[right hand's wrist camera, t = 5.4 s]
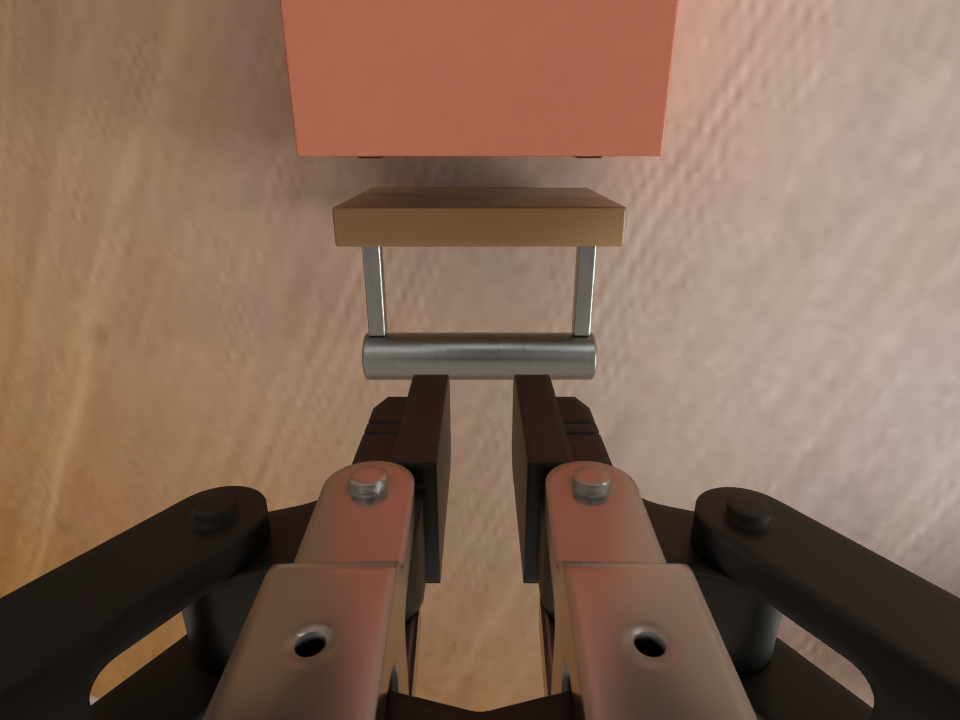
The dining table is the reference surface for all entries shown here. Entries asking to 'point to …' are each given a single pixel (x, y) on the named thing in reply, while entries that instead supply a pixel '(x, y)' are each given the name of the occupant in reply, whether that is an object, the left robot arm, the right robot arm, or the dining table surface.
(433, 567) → the right robot arm
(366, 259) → the drawer
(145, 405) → the dining table surface
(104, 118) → the dining table surface
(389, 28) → the cabinet
